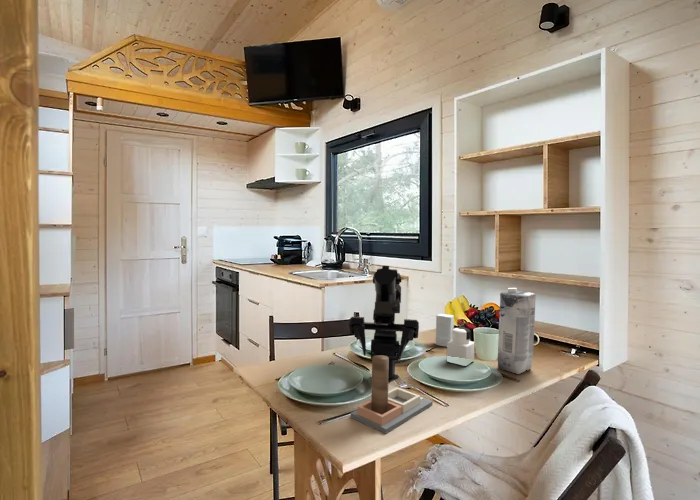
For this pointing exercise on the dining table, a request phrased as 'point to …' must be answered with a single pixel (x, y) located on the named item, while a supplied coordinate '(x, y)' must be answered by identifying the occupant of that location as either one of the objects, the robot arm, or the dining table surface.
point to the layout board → (392, 410)
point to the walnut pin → (380, 384)
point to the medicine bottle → (461, 344)
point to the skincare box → (444, 329)
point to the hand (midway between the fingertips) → (382, 356)
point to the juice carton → (516, 330)
